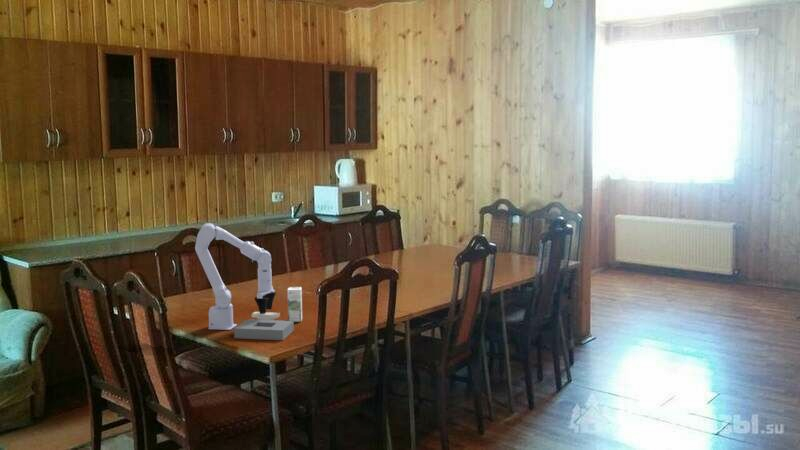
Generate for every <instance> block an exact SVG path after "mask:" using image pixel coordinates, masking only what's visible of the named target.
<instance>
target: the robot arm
mask: <svg viewBox="0 0 800 450" xmlns="http://www.w3.org/2000/svg"><path fill="white" fill-rule="evenodd" d="M214 239H215V241H219V240H221V241H223V240H224V241H225V242H227V243H229V244H231V245H232V246H234V247H236V248H238V249H239V250H240V253H241V254H242V255H244V256H245V257H248V258H249V259H251V260H253V261H256V262H257V266H258V267H257V288H258V289H257V294H256V296H255V297H254V301H255V303H256V305H257V307H258V310H259V311H258V312H260V314H265V313H266V312H267V310H272V309H273V304H274V303H273V302H274V300H275V297H276V294H277V292H276V290H275V289H274V286H273V281H272V280H273V277H272V275H273V274H272V273H273V272H272V261H273V260H272V255H271V253H270V252H269V251H268V249H267V250H266V249H264V248H263V247H259V246H257V245H256V244H255V242H254V241H249V240H246V241H243V240H241V238H240V239H239V238H238V237H237V236H235V235H234V234H232V233H230V232H229V231H227V230H226V229H224V228H222V227H220V226H218V225H215V224H213V223H212V222H206V223H204V224H203V225H201V228H200V229H199V231H198V233H197V236H196V242H195V246H194V249H195V252H196V255H197V256H198V259H199V261H200V263H201V264H200V265H201V266H202V268H203V270H204V272H205V275H206V277H207V279H208V281H209V283H210V285H211V287H212V291H213V294H214V296H215V297H214V300H215V301H214V302H215V304H214V305H213V306H210V308H209V310H208V330H219V331H221V330H224V331H229V330H230V331H231V330H232V329H234V328H235V327H237V326H238V324H237V323H234V308H233V307H234V306H233V304H232V292H231V291H230V290H229V289H228V288H227V286H226V285H225V283H224V282H223V280H222V278H221V275H220V273H219V271H218V269H217V266H216V264H215V262H214V259H213V257H212V255H211V253H210V251H209V249H208V248H209V246H210V243H211V242H212V241H213V240H214Z"/></svg>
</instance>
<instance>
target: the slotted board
mask: <svg viewBox="0 0 800 450" xmlns="http://www.w3.org/2000/svg"><path fill="white" fill-rule="evenodd" d="M294 323H295V322H294V321H288V320H278V319H277V320H275V319H274V320H257V318H256V319H253V318H250V319H249V318H247V319H245V320H244V321H242V322H241V323H238V324H237V325H236V326H235V327H233V330H234V332H233V335H234V337H233V338H234V339H243V340H244V339H245V340H246V339H247V340H249V339H250V340H266V341H267V340H269V341H272V340H273V341H284V340H285V339H286V338H287V337H288V336H290V334H291V333H292V332H294V330H295V329H294V326H295V324H294Z"/></svg>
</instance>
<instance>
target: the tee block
mask: <svg viewBox="0 0 800 450" xmlns="http://www.w3.org/2000/svg"><path fill="white" fill-rule="evenodd" d="M280 316H281V313H280V312H271V311H269V312H267V311H266V313H265V314H260V311H254V312H252V313H251V318H256V320H275V319H278V318H279V317H280Z"/></svg>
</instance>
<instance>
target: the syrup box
mask: <svg viewBox="0 0 800 450" xmlns="http://www.w3.org/2000/svg"><path fill="white" fill-rule="evenodd" d="M286 292H287V321H294V323H302V321H303V288H302V286H289V287H288V288H287V291H286Z"/></svg>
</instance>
